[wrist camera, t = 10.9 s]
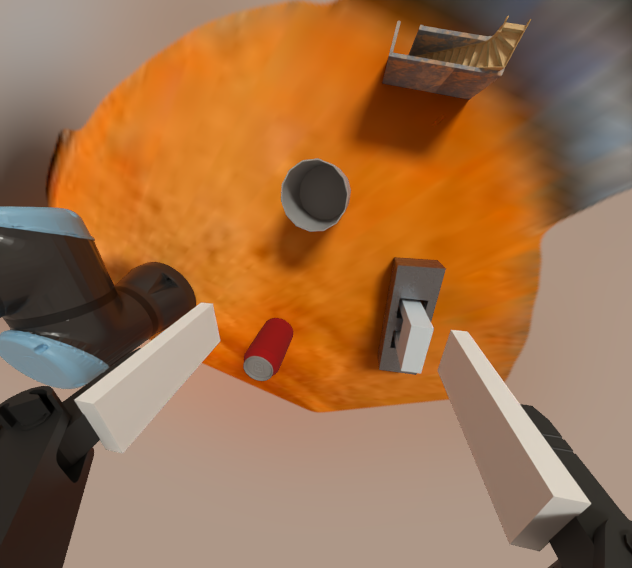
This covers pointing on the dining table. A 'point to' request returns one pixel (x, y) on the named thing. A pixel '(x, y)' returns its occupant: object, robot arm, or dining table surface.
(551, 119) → the dining table surface
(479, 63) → the ruin model on sheet
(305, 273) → the dining table surface
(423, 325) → the upright white panel
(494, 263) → the dining table surface
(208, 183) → the dining table surface
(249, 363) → the beverage can
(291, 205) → the cup
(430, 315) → the block with rectangular holes
